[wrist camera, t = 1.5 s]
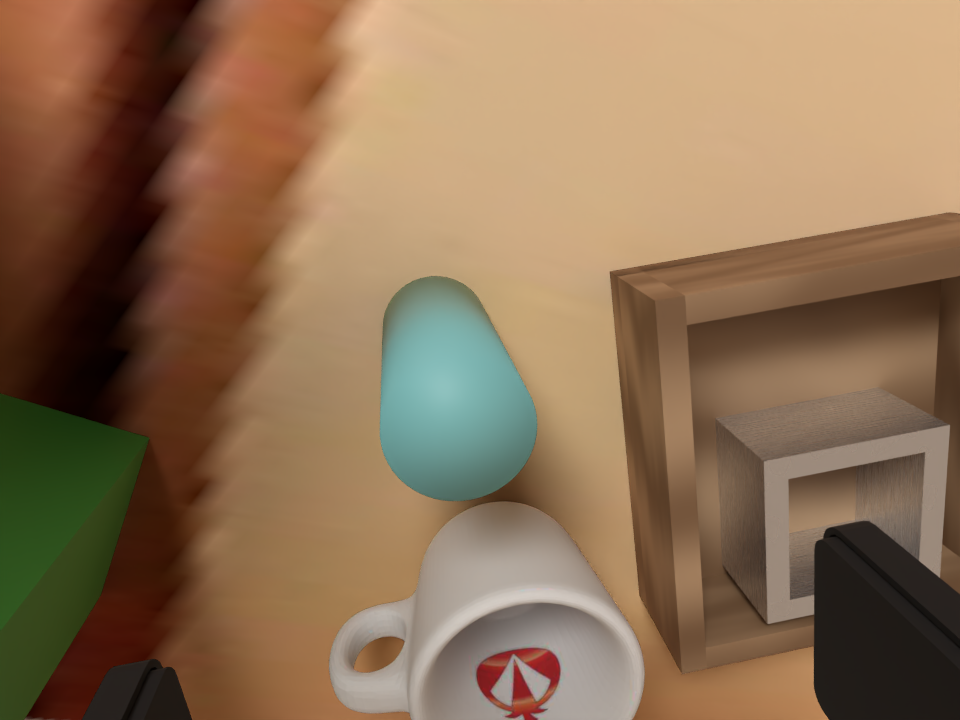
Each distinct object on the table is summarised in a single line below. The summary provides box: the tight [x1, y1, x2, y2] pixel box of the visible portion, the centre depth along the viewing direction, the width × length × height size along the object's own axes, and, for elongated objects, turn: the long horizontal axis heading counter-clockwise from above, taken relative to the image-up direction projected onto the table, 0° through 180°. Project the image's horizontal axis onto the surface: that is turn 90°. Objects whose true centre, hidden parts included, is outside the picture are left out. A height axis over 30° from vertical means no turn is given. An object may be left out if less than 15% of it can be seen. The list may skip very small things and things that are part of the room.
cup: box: [329, 501, 645, 720], centre depth 27 cm, size 11×8×8 cm
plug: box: [380, 276, 537, 501], centre depth 23 cm, size 4×4×10 cm
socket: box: [715, 387, 950, 624], centre depth 29 cm, size 7×7×4 cm
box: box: [610, 212, 960, 674], centre depth 28 cm, size 15×14×5 cm
